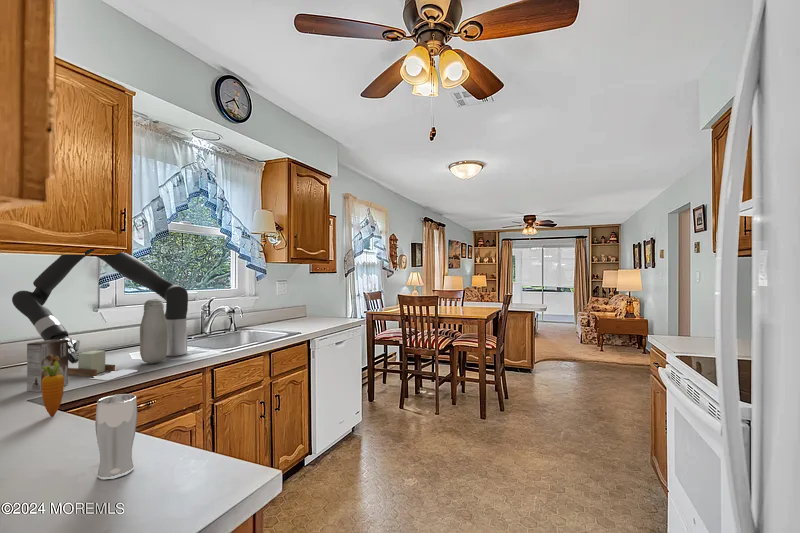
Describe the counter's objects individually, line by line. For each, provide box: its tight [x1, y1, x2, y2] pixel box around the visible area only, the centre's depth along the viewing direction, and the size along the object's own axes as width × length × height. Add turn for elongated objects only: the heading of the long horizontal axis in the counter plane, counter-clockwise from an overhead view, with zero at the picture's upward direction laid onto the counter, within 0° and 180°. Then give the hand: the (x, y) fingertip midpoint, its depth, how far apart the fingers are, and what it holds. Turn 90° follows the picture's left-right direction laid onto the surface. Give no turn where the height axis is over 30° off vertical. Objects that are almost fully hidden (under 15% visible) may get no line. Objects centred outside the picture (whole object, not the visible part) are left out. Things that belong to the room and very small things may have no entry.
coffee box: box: [26, 339, 69, 393], centre depth 140 cm, size 9×6×16 cm
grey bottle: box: [139, 298, 168, 364], centre depth 178 cm, size 10×10×28 cm
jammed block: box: [77, 349, 106, 374], centre depth 160 cm, size 6×6×8 cm
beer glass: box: [94, 393, 138, 477], centre depth 82 cm, size 7×7×15 cm
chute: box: [68, 363, 116, 377], centre depth 160 cm, size 9×13×2 cm
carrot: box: [41, 361, 65, 417], centre depth 113 cm, size 5×5×15 cm
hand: (76, 361), depth 162 cm, fingers closed
